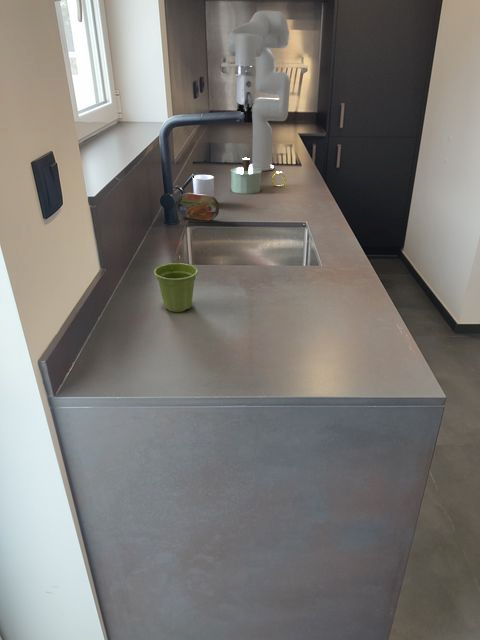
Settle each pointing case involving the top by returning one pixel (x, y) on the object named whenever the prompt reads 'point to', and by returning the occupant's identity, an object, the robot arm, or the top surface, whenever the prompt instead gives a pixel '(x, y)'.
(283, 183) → the gold ring
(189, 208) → the tin
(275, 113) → the robot arm
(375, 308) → the top surface
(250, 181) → the crock
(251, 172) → the lid
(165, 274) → the plant pot
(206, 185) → the white cup
